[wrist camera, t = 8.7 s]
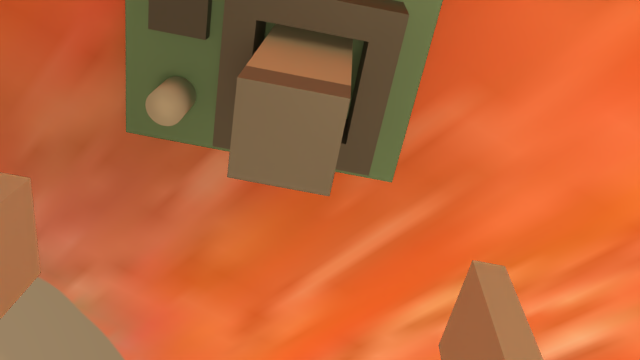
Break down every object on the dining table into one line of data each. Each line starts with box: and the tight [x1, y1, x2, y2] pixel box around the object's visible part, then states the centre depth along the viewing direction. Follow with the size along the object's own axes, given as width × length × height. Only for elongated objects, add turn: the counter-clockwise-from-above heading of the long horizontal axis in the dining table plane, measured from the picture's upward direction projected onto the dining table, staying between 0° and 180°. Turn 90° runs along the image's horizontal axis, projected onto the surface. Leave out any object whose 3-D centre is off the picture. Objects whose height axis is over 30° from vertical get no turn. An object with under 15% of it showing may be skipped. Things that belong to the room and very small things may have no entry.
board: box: [125, 0, 443, 182], centre depth 26 cm, size 16×12×5 cm
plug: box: [227, 24, 353, 196], centre depth 23 cm, size 4×4×10 cm
